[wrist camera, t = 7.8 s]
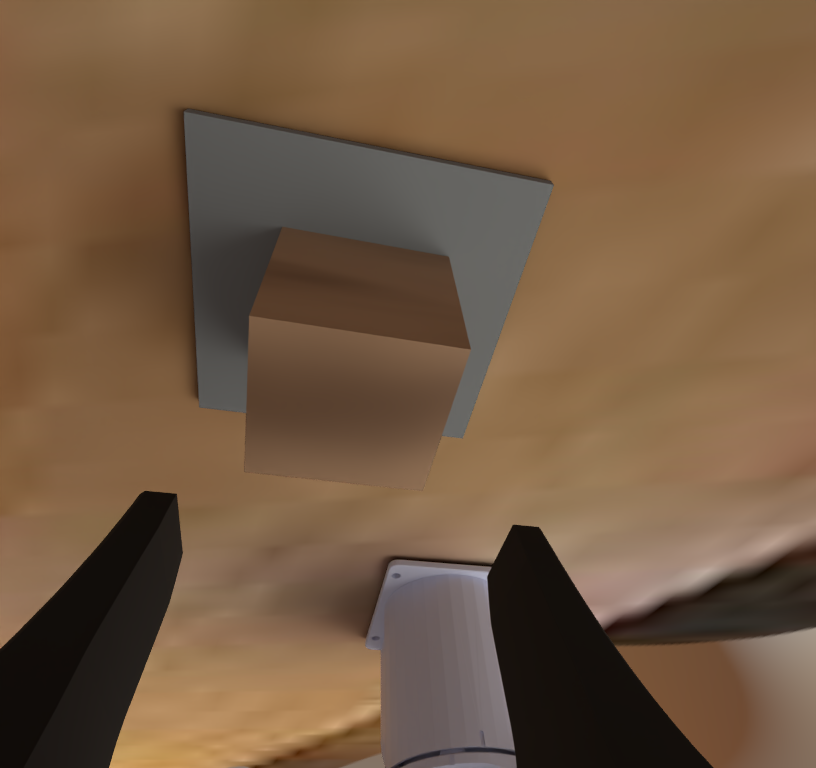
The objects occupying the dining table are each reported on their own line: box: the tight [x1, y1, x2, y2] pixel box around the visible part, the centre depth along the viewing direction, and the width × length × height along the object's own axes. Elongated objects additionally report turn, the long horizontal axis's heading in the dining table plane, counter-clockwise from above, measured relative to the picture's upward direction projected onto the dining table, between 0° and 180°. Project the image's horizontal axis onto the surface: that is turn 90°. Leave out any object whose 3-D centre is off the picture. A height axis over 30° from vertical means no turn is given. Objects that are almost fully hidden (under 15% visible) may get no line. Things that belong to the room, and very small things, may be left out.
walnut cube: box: [244, 227, 471, 491], centre depth 17 cm, size 6×6×6 cm
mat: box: [184, 109, 554, 438], centre depth 19 cm, size 11×11×1 cm
